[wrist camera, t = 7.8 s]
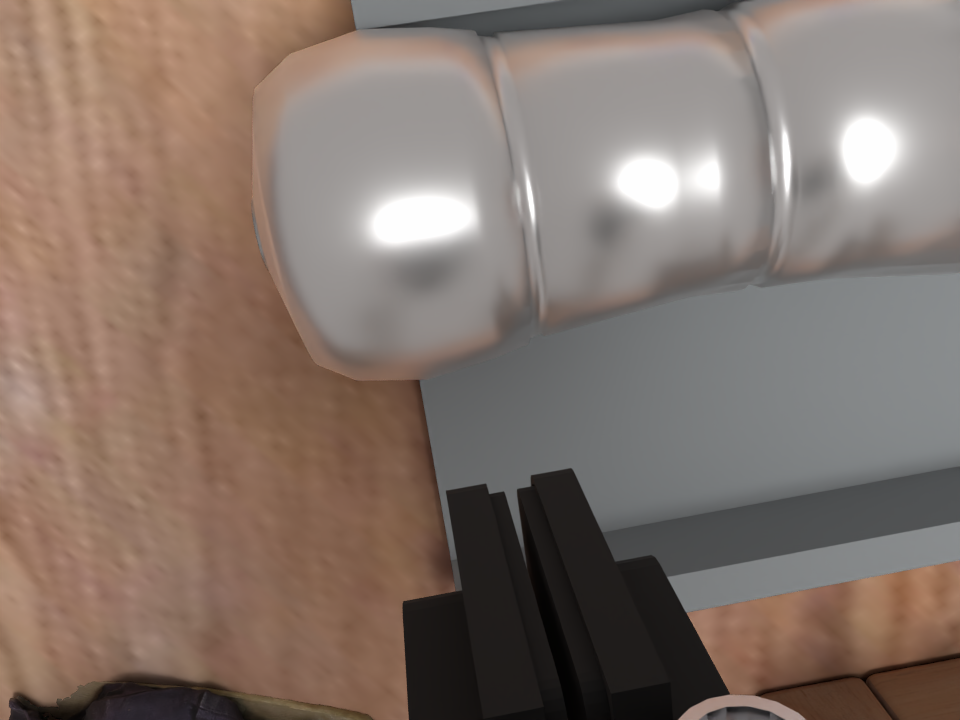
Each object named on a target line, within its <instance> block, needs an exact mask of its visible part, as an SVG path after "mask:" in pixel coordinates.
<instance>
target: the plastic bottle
mask: <svg viewBox="0 0 960 720" xmlns="http://www.w3.org/2000/svg"><path fill="white" fill-rule="evenodd" d="M252 195H253V197H252V204H251V206H252V217H253V223H254V229H255V233H256V238H257V242H258V246H259V249H260V252H261V255H262V258H263V261H264V263H265V266H266V268H267V269H268V271H269V272H270V274H271V276H272V279H273V281H274V283H275V285H276V287H277V290H278V292H279V294H280V296H281V298H282V300H283V302H284V304H285V306H286V308H287V310H288V312H289V314H290V316H291V318H292V320H293V322H294V325H295V327H296V329H297V331H298V333H299V335H300V337H301V339H302V341H303V343H304V345H305V347H306V349H307V351H308V353H309V355H310V356H311V358H312V360H313V361H314V362H315V363H316V364H317V365H318V366H321V367H324V368H326V369H329V370H331V371H334V372H336V373H339V374H341V375H344V376H346V377H349V378H351V379H354V380H356V381H380V380H428V379H431V378H434V377H437V376H441V375H444V374H447V373H450V372H453V371H456V370H460V369H463V368H466V367H469V366H472V365H475V364H478V363H482V362H485V361H488V360H491V359H494V358H496V357H499V356H501V355H504V354H506V353H508V352H511V351H513V350H516V349H518V348H520V347H523V346H525V345H528V343H529V340H530V338H532V337H534V336H537V335H539V334H543V335H544V336H546V335H550V334H554V333H558V332H561V331H565V330H569V329H573V328H576V327H580V326H584V325H588V324H591V323H595V322H599V321H602V320H606V319H610V318H614V317H617V316H621V315H625V314H629V313H632V312H636V311H640V310H644V309H647V308H651V307H655V306H658V305H662V304H666V303H670V302H673V301H677V300H681V299H685V298H688V297H694V296H701V295H709V294H717V293H725V292H733V291H738V290H743V289H745V288H746V287H747V286H748V285H754V286H757V287H760V288H763V287H771V286H778V285H786V284H794V283H801V282H809V281H816V280H824V279H834V278H861V277H888V276H915V275H941V274H954V273H960V0H744V1H740V2H735V3H731V4H729V5H727V6H725V7H724V8H722V9H721V10H720V11H714V10H705V9H703V10H699V11H694V12H690V13H685V14H681V15H676V16H672V17H667V18H663V19H658V20H651V21H638V22H625V23H612V24H599V25H585V26H572V27H559V28H546V29H533V30H519V31H506V32H494V34H493V36H492V37H490V36H478V35H477V33H476V31H473V30H466V29H451V28H435V27H422V28H385V29H359V30H356V31H353V32H350V33H347V34H344V35H342V36H339V37H336V38H333V39H330V40H327V41H324V42H322V43H319V44H316V45H313V46H310V47H307V48H305V49H302V50H299V51H296V52H293V53H290V54H289V55H288V56H287V57H286V58H285V59H284V60H283V61H282V62H281V63H280V64H279V65H278V66H277V67H276V68H275V69H274V70H273V71H272V72H270V73H269V74H268V75H267V76H266V77H265V78H264V79H263V80H262V81H261V82H260V83H259V84H258V85H257V86H256V87H255V89H254V94H253V122H252Z"/></svg>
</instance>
